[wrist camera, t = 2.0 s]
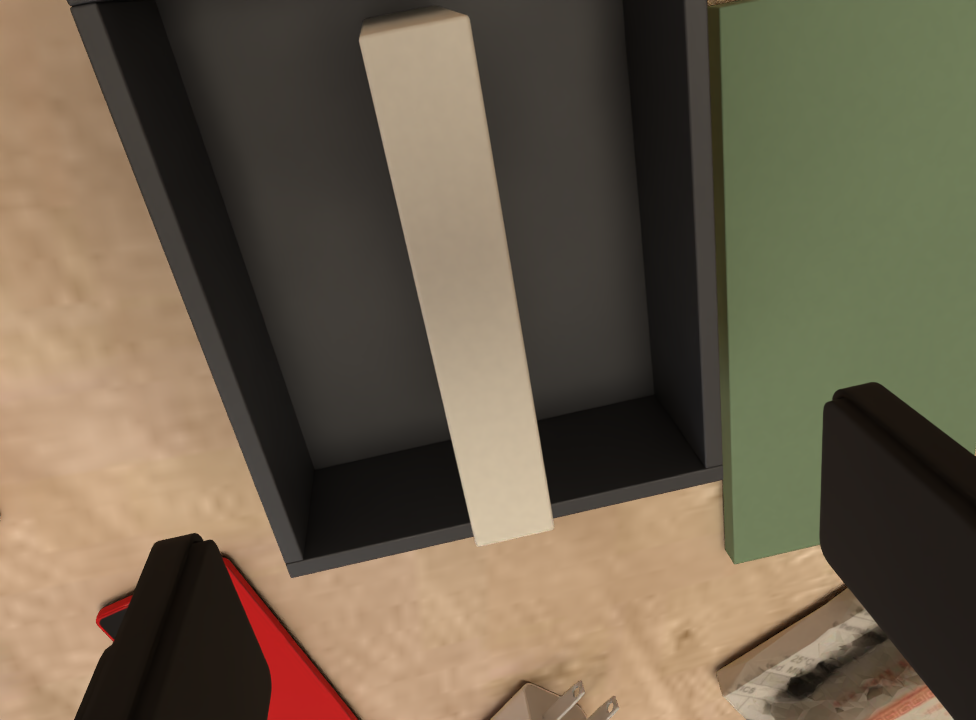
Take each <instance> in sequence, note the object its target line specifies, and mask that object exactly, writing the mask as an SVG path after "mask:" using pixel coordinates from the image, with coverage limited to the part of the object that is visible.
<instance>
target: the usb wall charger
mask: <svg viewBox="0 0 976 720" xmlns="http://www.w3.org/2000/svg"><path fill="white" fill-rule="evenodd" d="M578 687H579V694H578V696H577V697H575V696H574V693H575V690H576V688H578ZM584 694H585V691H584V687H583V684H582V681H581V680H580V681H578V682H577V683H576V684H575V685H574V686H572V687H571V688H570V689H569V690H568V691H567V692H565V693H564V694H563V695H562V696H559V695H556V694H554V693H552V692H550V691H548V690H545V689H543V688H541V687H539V686H536V685H534V684H532V683H526V684H525V685H524V686H523V687H522V688H521V689H520V690H519V691H518V692H517V693H516V694H515V695H514V696H513V697H512V698H511V699H510V700H509V701H508V702H507V703H506V704H505V705H504V706H503V707H502V708H501V709H500V710H499V711H498V712H497V713H496V714H495V715H494V716H493V717H492V718H491V719H490V720H609V719H610V718H611V717H612V716H613V715H614V714H615V713H616V712H617V711H618V710H619V706H618V703H617V700H616V697H615V696H613V697H611V698H610V699H609V700H608V701H607V702H605V703H604V704H603V705H602V706H601V707H599V708H598V709H597V710H596V711H595V712H594V713H593V714H592V715H591V716H590V717H589V718H587V716H586V714H585V713H584V711H583V710H582V709H581V708H580V707H579V706H578V705H577V704H576V703H577V702H578V701H579V699H580V698H581V697H582V696H583V695H584ZM611 703H613V710H612V711H611V712H610V713H609V712H608V707H609V705H610V704H611Z"/></svg>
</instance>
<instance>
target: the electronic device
mask: <svg viewBox="0 0 976 720" xmlns="http://www.w3.org/2000/svg"><path fill="white" fill-rule="evenodd" d="M222 558H223V561H224V563H225V565H226V568H227V570H228V572H229V575H230V577H231V579H232V582H233V584H234V586H235V589H236V591H237V593H238V596H239V598H240V601H241V603H242V605H243V608H244V610H245V612H246V615H247V617H248V619H249V622H250V624H251V626H252V629H253V631H254V633H255V636H256V638H257V640H258V643H259V645H260V647H261V650H262V652H263V654H264V657H265V659H266V661H267V664H268V666H269V669H270V674H271V681H272V691H271V699H270V706H269V712H268V719H267V720H358V719H357V717H356V716H355V715H354V714H353V712H352V711H351V710H350V709H349V708H348V706H347V705H346V704H345V703H344V701H343V700H342V699H341V698H340V696H339V695H338V694H337V693H336V691H335V690H334V689H333V688H332V686H331V685H330V684H329V683H328V681H327V680H326V679H325V678H324V677H323V675H322V674H321V673H320V672H319V670H318V669H317V668H316V667H315V665H314V664H313V663H312V662H311V660H310V659H309V658H308V657H307V655H306V654H305V653H304V652H303V651H302V649H301V648H300V647H299V646H298V644H297V643H296V642H295V641H294V639H293V638H292V637H291V636H290V634H289V633H288V632H287V631H286V629H285V628H284V627H283V626H282V625H281V623H280V622H279V621H278V620H277V618H276V617H275V616H274V615H273V613H272V612H271V611H270V610H269V608H268V607H267V606H266V605H265V603H264V602H263V601H262V600H261V598H260V597H259V596H258V595H257V594H256V592H255V591H254V590H253V589H252V587H251V586H250V585H249V584H248V582H247V581H246V580H245V579H244V577H243V576H242V575H241V574H240V572H239V571H238V570H237V569H236V568H235V566H234V565H233V564H232V563H231V561H230V560H229V559H227V558H224V557H222ZM131 598H132V595H130V596H128V597H126V598H124V599H121V600H119V601H117V602H115V603H112V604H110V605H108V606H106V607H103V608H102V609H101V610H100V611H99V613H98V615H97V618H96V624H97V625H98V626H99V627H100V628H101V629H102V631H103V632H104V633H105V634H106V635H107V636H108V637H109V638H110V639H111V640H112V641H113V642H114V639H115V637H116V635H117V632H118V630H119V627H120V625H121V622H122V620H123V617H124V615H125V613H126V610H127V608H128V605H129V603H130V600H131Z"/></svg>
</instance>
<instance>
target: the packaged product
mask: <svg viewBox="0 0 976 720" xmlns="http://www.w3.org/2000/svg"><path fill="white" fill-rule="evenodd" d="M716 675H717V678H718V682H719V685H720V689H721V692H722V696H723V697H724V698H726V699H727V701H728V702H729V703H730V704H731V705H732V706H733V707H734V708H735V709H736V710H737V711H738V712H739V713H740V714H741V715H742V716H743V717H744V718H745V719H746V720H954V719H953V718H952V717H951V715H950V714H949V713H948V712H947V710H946V709H945V708H944V707H943V705H942V704H941V703H940V702H939V700H938V699H937V698H936V697H935V695H934V694H933V693H932V692H931V690H930V689H929V688H928V687H927V685H926V684H925V683H924V682H923V680H922V679H921V678H920V677H919V675H918V674H917V673H916V672H915V670H914V669H913V668H912V667H911V665H910V664H909V663H908V662H907V660H906V659H905V658H904V657H903V656H902V654H901V653H900V652H899V651H898V649H897V648H896V647H895V646H894V644H893V643H892V642H891V641H890V639H889V638H888V637H887V636H886V634H885V633H884V632H883V631H882V629H881V628H880V627H879V626H878V624H877V623H876V622H875V621H874V619H873V618H872V617H871V616H870V614H869V613H868V612H867V611H866V609H865V608H864V607H863V606H862V604H861V603H860V602H859V601H858V599H857V598H856V597H855V596H854V594H853V593H852V592H851V591H850V589H849V588H847V589H845V590H844V591H843V592H841V593H840V594H839V595H837V596H836V597H835V598H833V599H832V600H831V601H829V602H828V603H827V604H825V605H824V606H822V607H820V608H819V609H817V610H816V611H814V612H812V613H811V614H809V615H807V616H806V617H804V618H803V619H801V620H799V621H798V622H796V623H794V624H793V625H791V626H790V627H788V628H786V629H785V630H783V631H782V632H780V633H778V634H777V635H775V636H773V637H772V638H770V639H769V640H767V641H765V642H764V643H762V644H760V645H759V646H757V647H756V648H754V649H752V650H751V651H749V652H748V653H746V654H744V655H743V656H741V657H739V658H738V659H736V660H735V661H733V662H731V663H730V664H728V665H726V666H725V667H723V668H722V669H720V670H718V671H717V672H716Z"/></svg>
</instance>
